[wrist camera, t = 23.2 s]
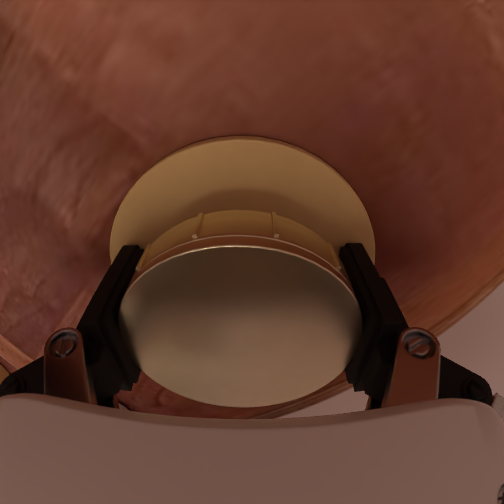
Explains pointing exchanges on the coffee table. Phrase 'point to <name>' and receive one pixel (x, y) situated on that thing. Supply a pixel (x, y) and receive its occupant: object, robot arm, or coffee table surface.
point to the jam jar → (3, 373)
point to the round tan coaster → (242, 192)
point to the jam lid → (240, 310)
